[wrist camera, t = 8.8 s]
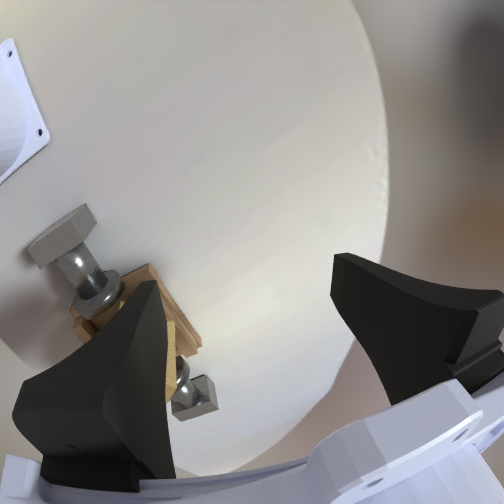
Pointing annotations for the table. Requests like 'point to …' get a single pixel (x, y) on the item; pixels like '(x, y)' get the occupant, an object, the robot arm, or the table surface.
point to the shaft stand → (109, 298)
